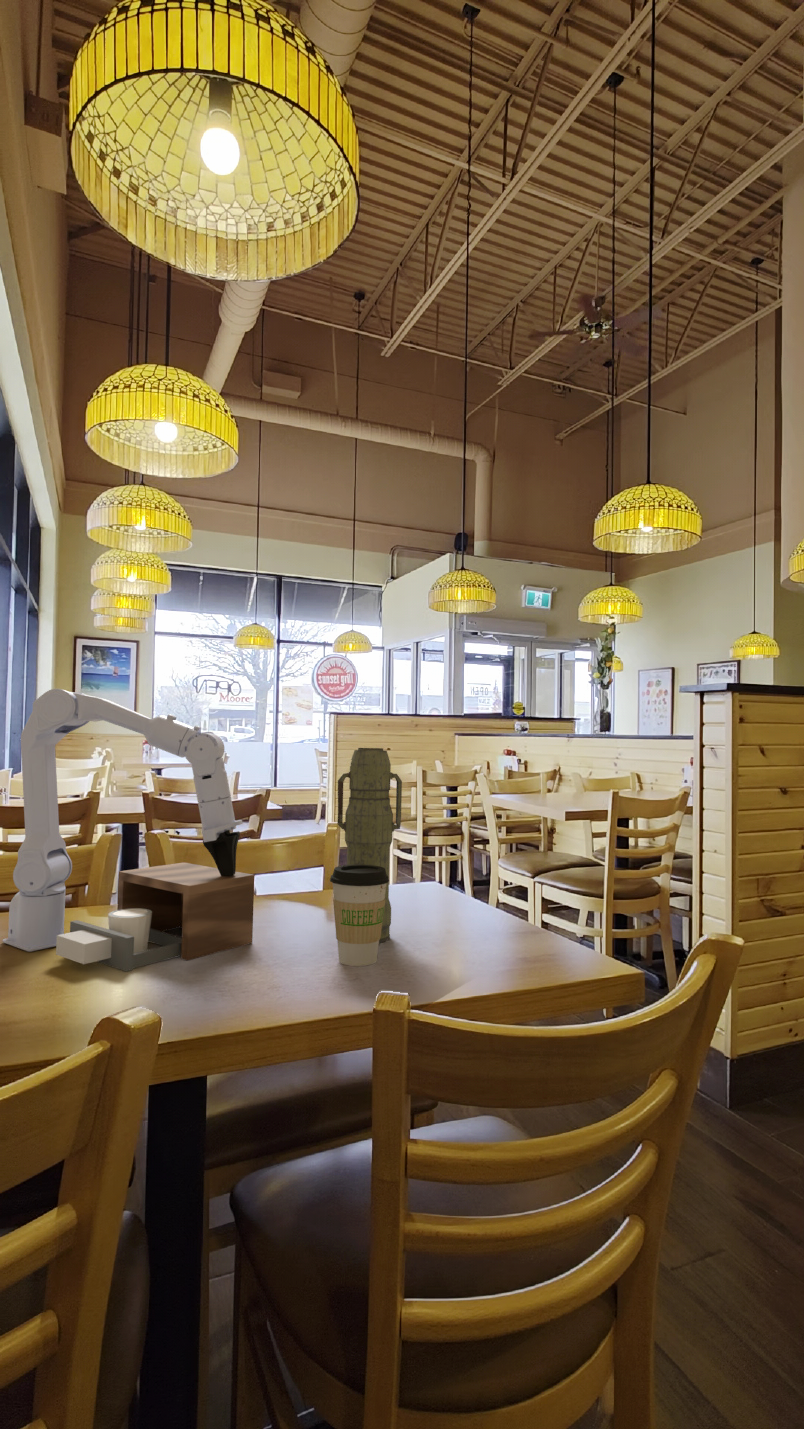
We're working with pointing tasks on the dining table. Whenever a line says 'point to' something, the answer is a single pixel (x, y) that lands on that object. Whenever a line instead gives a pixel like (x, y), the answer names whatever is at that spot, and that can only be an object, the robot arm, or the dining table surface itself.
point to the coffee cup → (358, 911)
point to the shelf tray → (114, 946)
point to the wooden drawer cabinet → (193, 904)
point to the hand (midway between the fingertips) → (228, 875)
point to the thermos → (370, 815)
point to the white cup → (132, 925)
